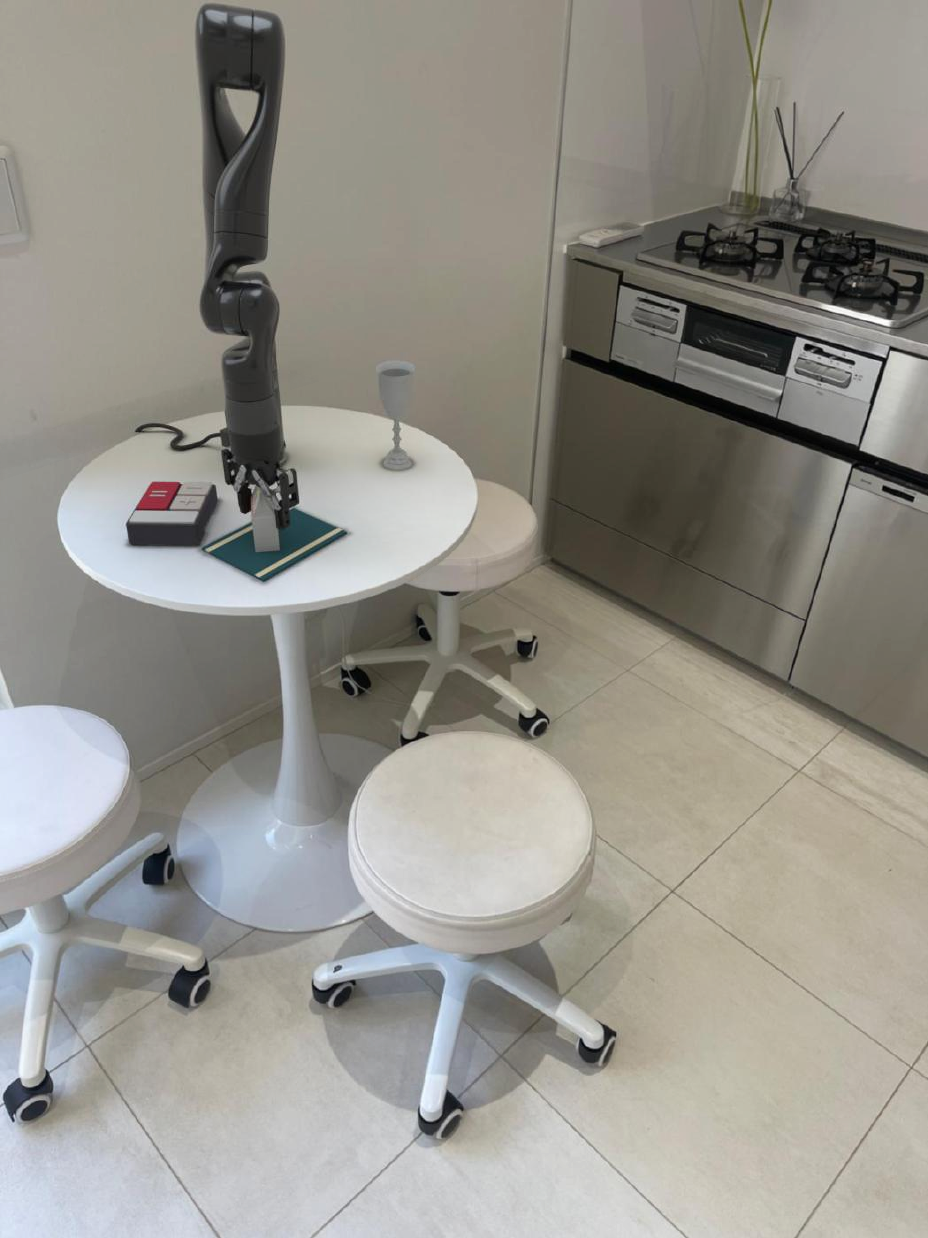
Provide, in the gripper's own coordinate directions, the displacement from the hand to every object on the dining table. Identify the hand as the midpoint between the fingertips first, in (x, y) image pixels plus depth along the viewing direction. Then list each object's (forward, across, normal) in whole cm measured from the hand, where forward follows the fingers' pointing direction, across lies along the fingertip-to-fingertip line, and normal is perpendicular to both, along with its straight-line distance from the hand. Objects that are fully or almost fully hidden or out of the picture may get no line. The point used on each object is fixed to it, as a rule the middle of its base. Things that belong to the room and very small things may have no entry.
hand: (264, 519), depth 149 cm
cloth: (+4, -1, -1) cm, 4 cm away
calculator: (+4, +16, +5) cm, 17 cm away
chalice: (+4, +2, -34) cm, 34 cm away
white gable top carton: (+4, 0, 0) cm, 4 cm away
